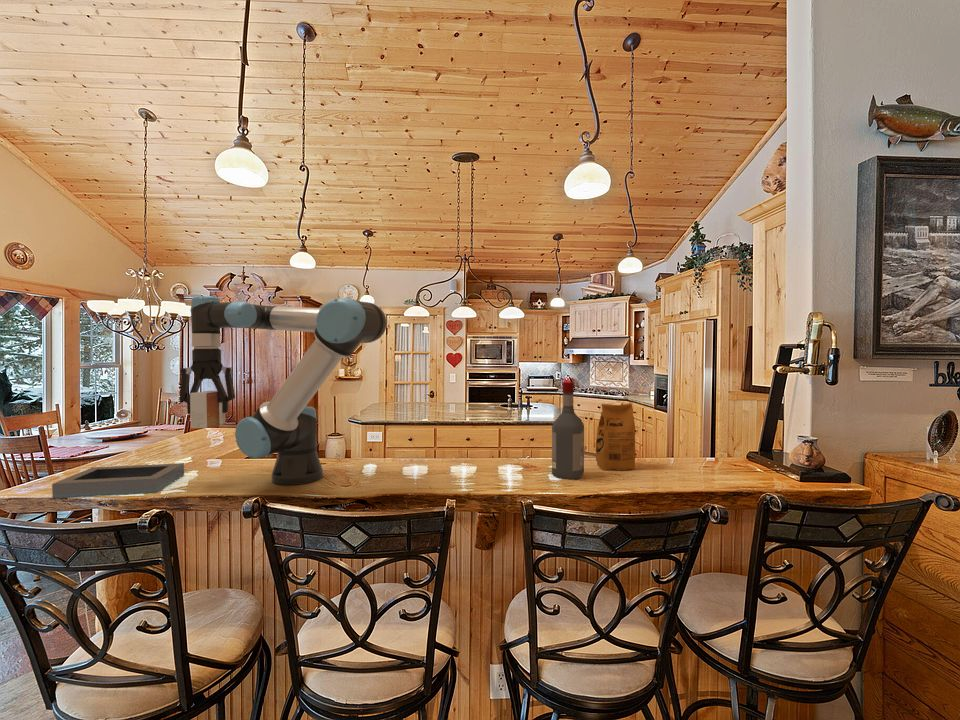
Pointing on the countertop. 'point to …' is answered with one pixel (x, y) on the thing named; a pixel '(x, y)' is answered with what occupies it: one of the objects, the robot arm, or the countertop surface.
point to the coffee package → (616, 438)
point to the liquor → (568, 440)
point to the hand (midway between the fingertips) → (208, 424)
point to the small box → (204, 409)
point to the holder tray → (118, 480)
